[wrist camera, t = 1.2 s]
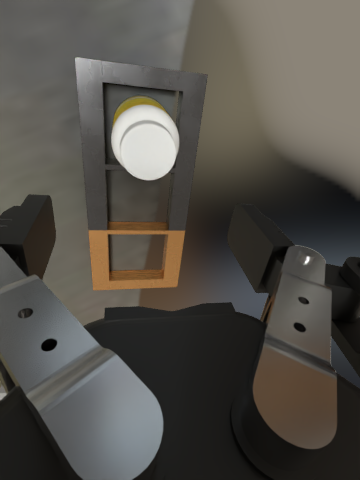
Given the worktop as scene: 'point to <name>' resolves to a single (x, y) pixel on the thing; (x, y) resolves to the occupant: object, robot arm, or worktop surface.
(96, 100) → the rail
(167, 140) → the supplement bottle
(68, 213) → the worktop surface
